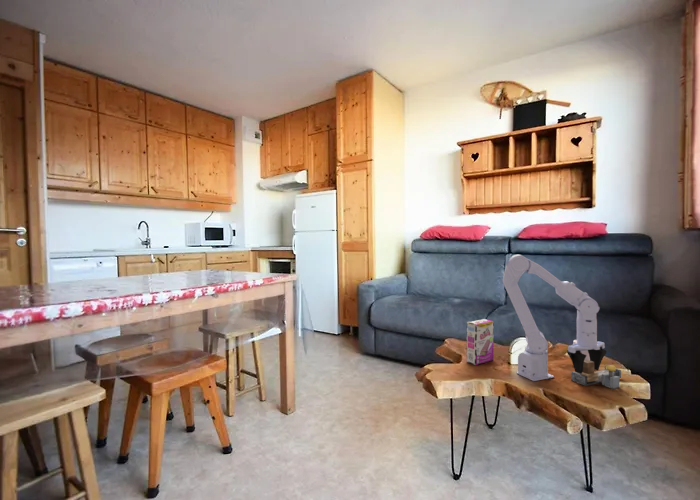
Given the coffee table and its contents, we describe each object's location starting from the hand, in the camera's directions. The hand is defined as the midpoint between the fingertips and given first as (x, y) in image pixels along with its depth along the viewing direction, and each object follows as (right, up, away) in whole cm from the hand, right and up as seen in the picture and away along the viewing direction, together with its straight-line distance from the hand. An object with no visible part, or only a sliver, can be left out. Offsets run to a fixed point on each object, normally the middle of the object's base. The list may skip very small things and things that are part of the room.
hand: (586, 370), depth 117 cm
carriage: (0, -4, 0) cm, 4 cm away
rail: (+4, -4, +1) cm, 6 cm away
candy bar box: (-28, -4, +21) cm, 36 cm away
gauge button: (+5, -2, -4) cm, 7 cm away
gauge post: (+5, -4, -4) cm, 7 cm away
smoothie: (+8, -3, +13) cm, 16 cm away
